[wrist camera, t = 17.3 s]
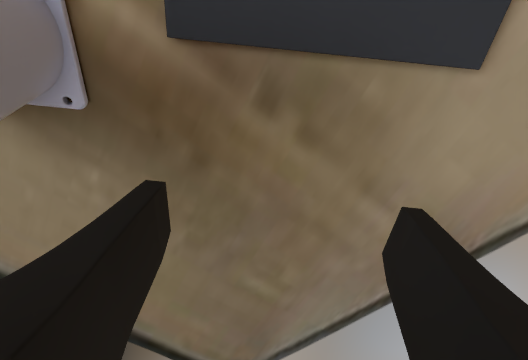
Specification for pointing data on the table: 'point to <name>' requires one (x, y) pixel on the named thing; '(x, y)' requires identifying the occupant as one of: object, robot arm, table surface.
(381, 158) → the table surface
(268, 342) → the table surface
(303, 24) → the desk mat
